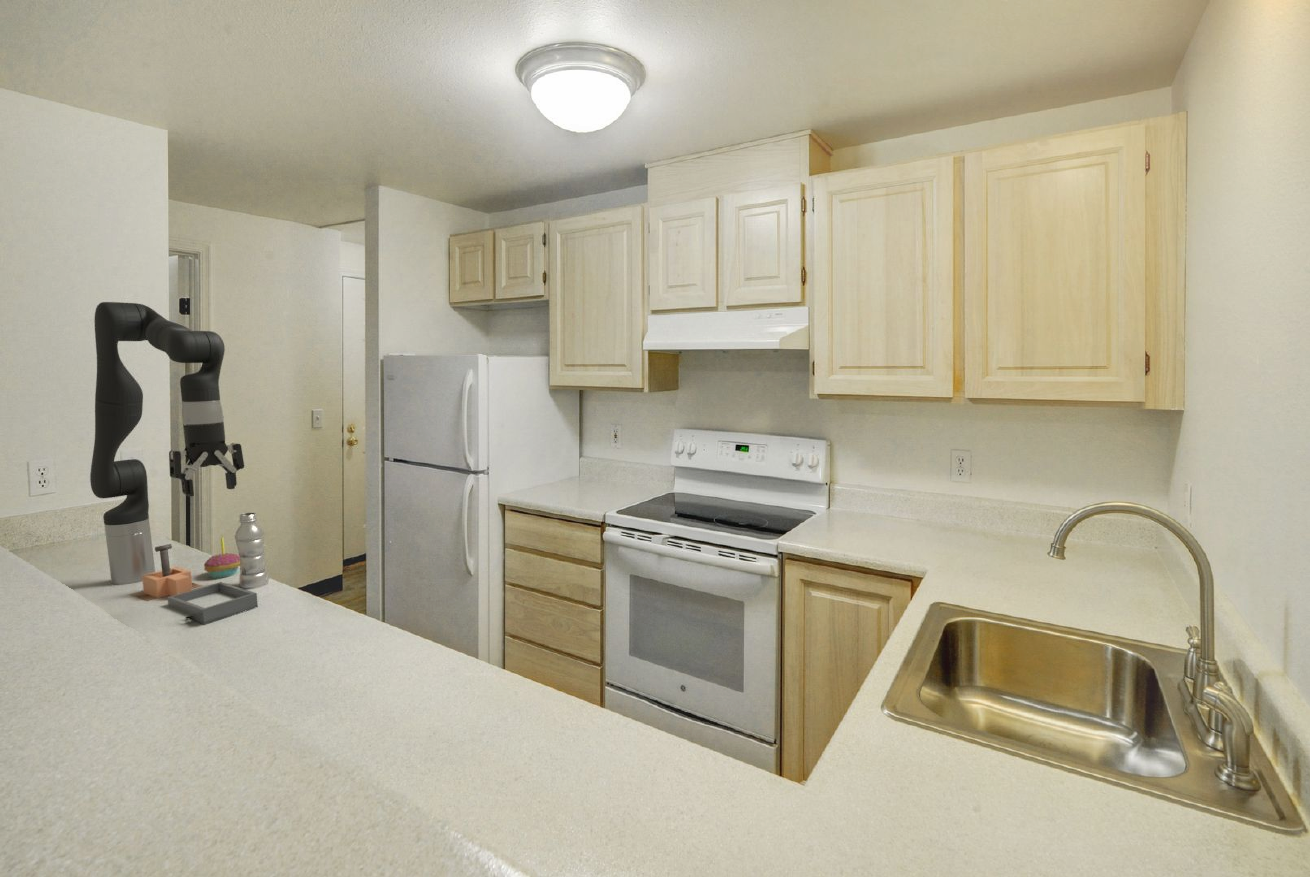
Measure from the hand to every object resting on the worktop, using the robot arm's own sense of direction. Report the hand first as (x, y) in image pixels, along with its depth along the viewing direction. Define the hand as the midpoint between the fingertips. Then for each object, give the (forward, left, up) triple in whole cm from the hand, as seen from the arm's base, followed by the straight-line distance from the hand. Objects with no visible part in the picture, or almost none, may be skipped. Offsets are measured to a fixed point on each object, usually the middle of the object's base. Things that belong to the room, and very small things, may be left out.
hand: (210, 492), depth 148 cm
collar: (-24, 0, -28) cm, 36 cm away
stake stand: (-26, 0, -29) cm, 39 cm away
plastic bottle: (-11, +13, -29) cm, 34 cm away
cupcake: (-26, +13, -29) cm, 42 cm away
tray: (-6, +1, -29) cm, 30 cm away
